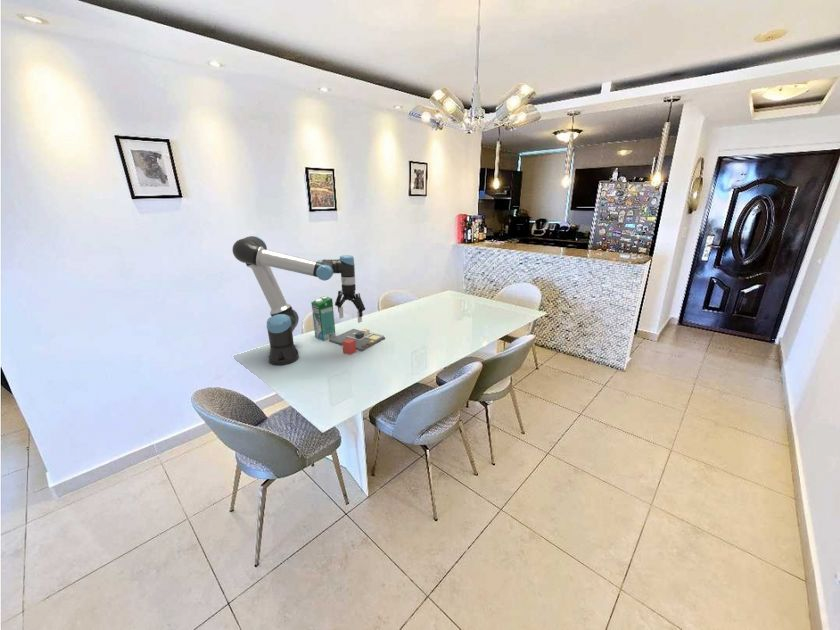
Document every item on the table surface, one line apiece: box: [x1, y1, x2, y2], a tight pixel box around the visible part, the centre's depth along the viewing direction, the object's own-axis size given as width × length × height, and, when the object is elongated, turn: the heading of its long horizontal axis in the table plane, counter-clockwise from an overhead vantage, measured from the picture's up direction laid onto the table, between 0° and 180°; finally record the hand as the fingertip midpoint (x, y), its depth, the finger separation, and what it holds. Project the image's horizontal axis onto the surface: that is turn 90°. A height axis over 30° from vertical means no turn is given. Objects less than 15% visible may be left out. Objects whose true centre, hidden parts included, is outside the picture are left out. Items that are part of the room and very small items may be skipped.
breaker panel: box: [328, 328, 386, 352], centre depth 205 cm, size 26×21×5 cm
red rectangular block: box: [342, 338, 357, 356], centre depth 189 cm, size 5×5×7 cm
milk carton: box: [310, 295, 337, 342], centre depth 206 cm, size 9×9×25 cm
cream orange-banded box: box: [361, 328, 371, 336], centre depth 209 cm, size 3×4×4 cm
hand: (350, 319), depth 194 cm, fingers open, 13 cm apart
